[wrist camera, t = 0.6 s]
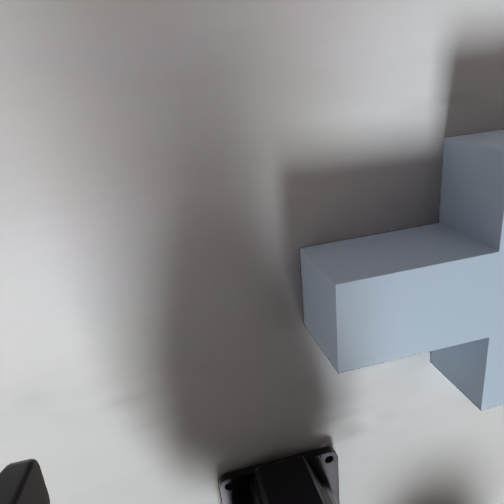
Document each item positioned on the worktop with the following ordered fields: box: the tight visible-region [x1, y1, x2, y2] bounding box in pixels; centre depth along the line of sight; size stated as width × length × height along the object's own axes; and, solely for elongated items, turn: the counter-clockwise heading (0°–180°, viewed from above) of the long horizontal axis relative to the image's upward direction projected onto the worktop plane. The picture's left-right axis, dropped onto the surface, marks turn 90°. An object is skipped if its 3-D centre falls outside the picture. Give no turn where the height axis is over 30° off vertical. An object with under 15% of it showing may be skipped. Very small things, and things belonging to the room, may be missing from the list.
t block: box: [300, 129, 504, 411], centre depth 21 cm, size 12×11×4 cm
